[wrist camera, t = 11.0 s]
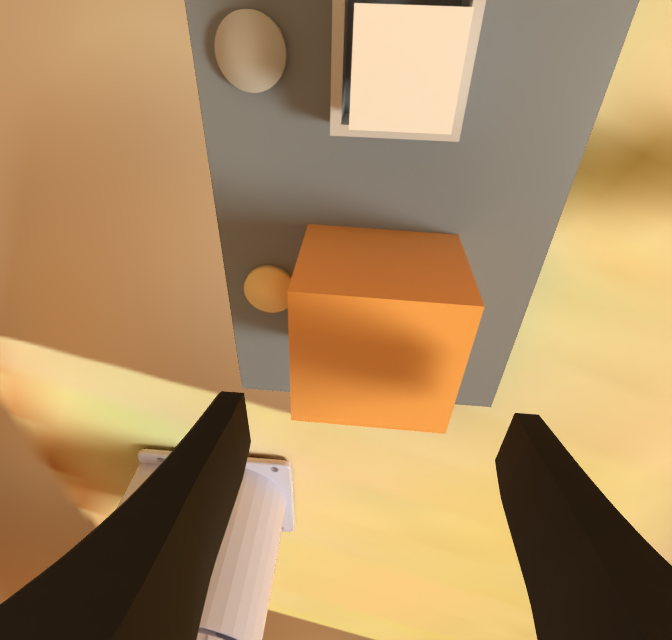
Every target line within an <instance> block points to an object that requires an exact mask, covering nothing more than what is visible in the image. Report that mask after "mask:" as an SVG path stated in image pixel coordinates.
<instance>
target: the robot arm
mask: <svg viewBox="0 0 672 640" xmlns="http://www.w3.org/2000/svg"><path fill="white" fill-rule="evenodd" d="M250 443H251V439H250V432H249V425H248V418H247V411H246V404H245V397H244V393H236V392H223V391H222V392H220V393H219V394H218V395H217V396H216V398H215V399H214V400H213V402H212V403H211V404H210V406H209V407H208V408H207V409H206V411H205V412H204V413H203V415H202V416H201V417H200V418H199V420H198V421H197V422H196V423H195V425H194V426H193V427H192V428H191V430H190V431H189V432H188V433H187V434H186V436H185V437H184V438H183V439H182V440H181V441H180V443H179V444H178V445H177V446H176V447H175V448H174V450H173V451H167V450H154V449H142V450H140V451H139V453H138V455H137V458H138V460H139V462H140V464H139V466H138V468H137V470H136V472H135V474H134V476H133V478H132V480H131V482H130V484H129V486H128V488H127V490H126V492H125V494H124V496H123V497H122V499H121V501H120V503H119V505H118V507H117V509H116V510H115V511H114V512H113V513H112V514H111V515H110V516H109V517H108V518H106V519H105V520H104V521H103V522H102V523H101V524H100V525H99V526H98V527H96V528H95V529H94V530H93V531H92V532H91V533H90V534H88V535H87V536H86V537H85V538H84V539H83V540H81V541H80V542H79V543H78V544H77V545H76V546H75V547H73V548H72V549H71V550H70V551H69V552H67V553H66V554H65V555H64V556H63V557H61V558H60V559H59V560H58V561H56V562H55V563H54V564H53V565H51V566H50V567H49V568H47V569H46V570H45V571H44V572H42V573H41V574H40V575H39V576H37V577H36V578H34V579H33V580H32V581H31V582H29V583H28V584H27V585H25V586H24V587H23V588H21V589H20V590H19V591H18V592H16V593H15V594H14V595H12V596H11V597H10V598H8V599H7V600H6V601H4V602H3V603H2V604H0V640H262V638H263V633H264V627H265V621H266V616H267V610H268V605H269V599H270V594H271V588H272V582H273V577H274V571H275V565H276V560H277V554H278V549H279V543H280V537H281V532H282V531H284V532H291V531H293V530H294V527H295V517H294V500H293V483H292V467H291V464H290V463H289V462H288V461H285V460H277V459H264V458H252V457H248V453H249V448H250ZM495 463H496V470H497V477H498V483H499V489H500V495H501V500H502V504H503V507H504V511H505V515H506V518H507V522H508V525H509V529H510V532H511V536H512V539H513V543H514V546H515V550H516V553H517V557H518V560H519V564H520V567H521V571H522V574H523V577H524V581H525V584H526V588H527V592H528V596H529V600H530V604H531V608H532V613H533V619H534V624H535V629H536V634H537V639H538V640H672V566H671V565H670V564H669V563H668V562H667V561H666V560H665V559H664V558H663V557H662V556H661V555H660V554H659V553H658V552H657V551H656V550H655V549H654V548H653V547H652V546H651V545H650V544H649V543H648V542H647V541H646V540H645V539H644V538H643V537H642V536H641V535H640V534H639V533H638V532H637V531H636V530H635V529H634V527H633V526H632V525H631V524H630V523H629V522H628V521H627V520H626V519H625V518H624V517H623V516H622V515H621V513H620V512H619V511H618V510H617V509H616V508H615V507H614V506H613V504H612V503H611V502H610V501H609V500H608V499H607V498H606V497H605V495H604V494H603V493H602V492H601V491H600V489H599V488H598V487H597V486H596V485H595V484H594V482H593V481H592V480H591V479H590V478H589V477H588V475H587V474H586V473H585V472H584V471H583V469H582V468H581V467H580V466H579V464H578V463H577V462H576V461H575V460H574V458H573V457H572V456H571V455H570V453H569V452H568V451H567V450H566V448H565V447H564V446H563V445H562V443H561V442H560V441H559V440H558V438H557V437H556V436H555V435H554V433H553V432H552V431H551V430H550V428H549V427H548V426H547V425H546V423H545V422H544V421H543V420H542V418H541V417H540V416H539V415H535V414H521V413H515V414H514V416H513V419H512V421H511V424H510V426H509V428H508V431H507V433H506V435H505V438H504V440H503V443H502V445H501V447H500V450H499V452H498V455H497V457H496V459H495Z"/></svg>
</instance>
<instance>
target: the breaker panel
mask: <svg viewBox="0 0 672 640" xmlns="http://www.w3.org/2000/svg"><path fill="white" fill-rule="evenodd" d="M354 3H371V4H400V5H429V6H458V7H474V11H473V16H472V22H471V27H470V33H469V38H468V44H467V49H466V55H465V61H464V66H463V72H462V77H461V83H460V88H459V94H458V100H457V105H456V111H455V116H454V122H453V127H452V133H451V135H449V134H428V133H407V132H386V131H365V130H349V114H350V91H351V68H352V45H353V21H354ZM638 3H639V0H185V6H186V13H187V20H188V25H189V33H190V40H191V47H192V53H193V59H194V67H195V73H196V80H197V87H198V93H199V100H200V107H201V114H202V120H203V127H204V134H205V140H206V147H207V154H208V161H209V167H210V174H211V181H212V187H213V194H214V201H215V208H216V215H217V221H218V228H219V234H220V241H221V248H222V254H223V262H224V268H225V275H226V281H227V288H228V295H229V302H230V309H231V315H232V322H233V328H234V335H235V342H236V349H237V356H238V362H239V369H240V376H241V382H242V388H246V389H258V390H272V391H285V392H290V361H289V329H288V298H287V291H288V288H289V284H290V281H291V278H292V275H293V271H294V268H295V265H296V262H297V258H298V255H299V252H300V249H301V245H302V242H303V239H304V236H305V232H306V229H307V226H308V224H316V225H330V226H344V227H358V228H372V229H386V230H400V231H414V232H428V233H442V234H456V235H459V237H460V240H461V243H462V246H463V248H464V251H465V254H466V257H467V259H468V262H469V265H470V268H471V270H472V273H473V276H474V279H475V281H476V284H477V287H478V290H479V292H480V295H481V298H482V301H483V303H484V306H485V307H484V310H483V314H482V317H481V320H480V323H479V327H478V330H477V333H476V336H475V339H474V343H473V346H472V349H471V352H470V356H469V359H468V362H467V365H466V368H465V372H464V375H463V378H462V381H461V385H460V388H459V391H458V394H457V398H456V401H455V404H459V405H472V406H485V407H491V405H492V403H493V400H494V397H495V394H496V392H497V389H498V386H499V383H500V381H501V378H502V375H503V372H504V370H505V367H506V364H507V362H508V359H509V356H510V353H511V351H512V348H513V345H514V342H515V340H516V337H517V334H518V331H519V329H520V326H521V323H522V320H523V318H524V315H525V312H526V309H527V307H528V304H529V301H530V299H531V296H532V293H533V290H534V288H535V285H536V282H537V279H538V277H539V274H540V271H541V268H542V266H543V263H544V260H545V257H546V255H547V252H548V249H549V247H550V244H551V241H552V238H553V236H554V233H555V230H556V227H557V225H558V222H559V219H560V216H561V214H562V211H563V208H564V205H565V203H566V200H567V197H568V194H569V192H570V189H571V186H572V184H573V181H574V178H575V175H576V173H577V170H578V167H579V164H580V162H581V159H582V156H583V153H584V151H585V148H586V145H587V142H588V140H589V137H590V134H591V131H592V129H593V126H594V123H595V121H596V118H597V115H598V112H599V110H600V107H601V104H602V101H603V99H604V96H605V93H606V90H607V88H608V85H609V82H610V79H611V77H612V74H613V71H614V69H615V66H616V63H617V60H618V58H619V55H620V52H621V49H622V47H623V44H624V41H625V38H626V36H627V33H628V30H629V27H630V25H631V22H632V19H633V16H634V14H635V11H636V8H637V6H638Z"/></svg>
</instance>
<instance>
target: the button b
mask: <svg viewBox="0 0 672 640" xmlns="http://www.w3.org/2000/svg"><path fill="white" fill-rule="evenodd" d="M473 11H474V7H458V6H429V5H400V4H371V3H354V21H353V45H352V68H351V91H350V114H349V130H365V131H386V132H407V133H428V134H449V135H451V133H452V127H453V122H454V116H455V111H456V105H457V100H458V94H459V88H460V83H461V77H462V72H463V66H464V61H465V55H466V49H467V44H468V38H469V33H470V27H471V22H472V16H473Z"/></svg>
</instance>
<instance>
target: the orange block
mask: <svg viewBox="0 0 672 640" xmlns="http://www.w3.org/2000/svg"><path fill="white" fill-rule="evenodd" d="M287 298H288V329H289V361H290V392H291V420H296V421H307V422H319V423H330V424H341V425H353V426H364V427H376V428H387V429H399V430H410V431H421V432H433V433H444V434H445V433H446V430H447V427H448V423H449V420H450V417H451V414H452V410H453V407H454V404H455V401H456V398H457V394H458V391H459V388H460V385H461V381H462V378H463V375H464V372H465V368H466V365H467V362H468V359H469V356H470V352H471V349H472V346H473V343H474V339H475V336H476V333H477V330H478V327H479V323H480V320H481V317H482V314H483V310H484V307H485V306H484V303H483V301H482V298H481V295H480V292H479V290H478V287H477V284H476V281H475V279H474V276H473V273H472V270H471V268H470V265H469V262H468V259H467V257H466V254H465V251H464V248H463V246H462V243H461V240H460V237H459V235H456V234H442V233H428V232H414V231H400V230H386V229H372V228H358V227H344V226H330V225H316V224H308V226H307V229H306V232H305V236H304V239H303V242H302V245H301V249H300V252H299V255H298V258H297V262H296V265H295V268H294V271H293V275H292V278H291V281H290V284H289V288H288V291H287Z"/></svg>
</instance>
